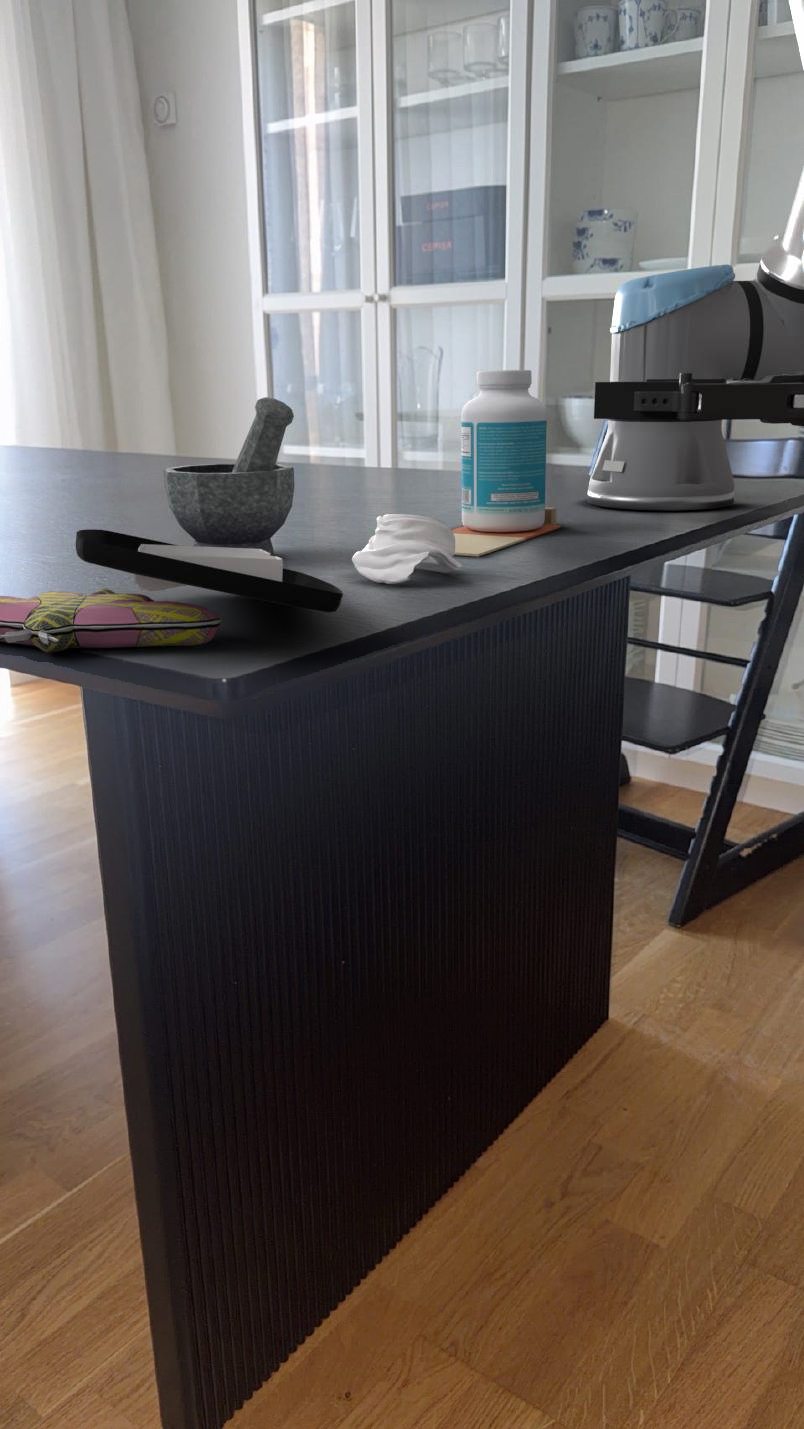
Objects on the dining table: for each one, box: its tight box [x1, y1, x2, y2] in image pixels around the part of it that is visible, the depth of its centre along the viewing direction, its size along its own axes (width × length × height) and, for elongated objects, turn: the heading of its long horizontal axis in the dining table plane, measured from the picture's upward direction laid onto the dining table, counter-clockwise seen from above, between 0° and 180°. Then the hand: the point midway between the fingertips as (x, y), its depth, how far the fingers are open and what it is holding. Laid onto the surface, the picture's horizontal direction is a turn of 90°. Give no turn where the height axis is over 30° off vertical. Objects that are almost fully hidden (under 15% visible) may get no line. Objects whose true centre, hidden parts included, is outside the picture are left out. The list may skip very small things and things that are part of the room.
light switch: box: [75, 528, 344, 613], centre depth 59 cm, size 20×3×14 cm
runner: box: [451, 524, 562, 558], centre depth 91 cm, size 18×8×1 cm, turn 152°
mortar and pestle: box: [162, 396, 295, 556], centre depth 80 cm, size 11×9×12 cm
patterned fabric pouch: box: [0, 588, 222, 654], centre depth 56 cm, size 17×2×10 cm
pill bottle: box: [460, 369, 548, 532], centre depth 93 cm, size 8×7×14 cm
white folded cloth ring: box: [351, 513, 463, 585], centre depth 73 cm, size 8×7×5 cm
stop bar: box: [543, 506, 558, 525], centre depth 99 cm, size 1×6×2 cm, turn 61°
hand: (622, 397), depth 87 cm, fingers open, 13 cm apart
